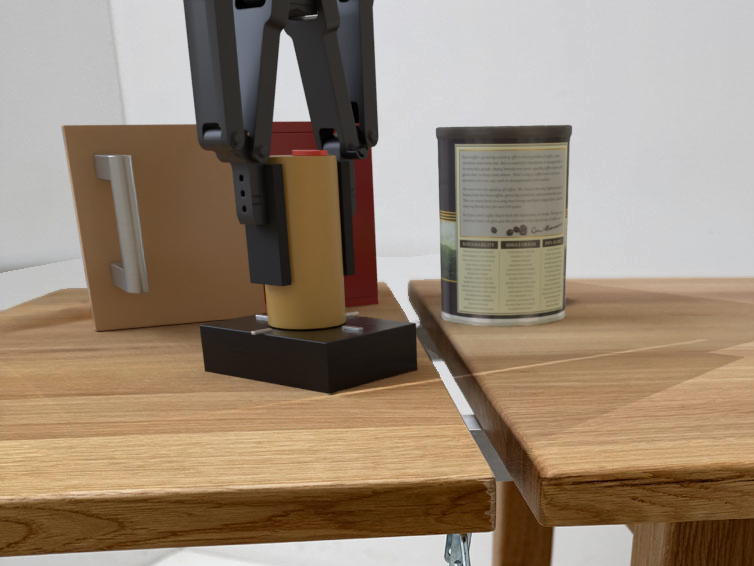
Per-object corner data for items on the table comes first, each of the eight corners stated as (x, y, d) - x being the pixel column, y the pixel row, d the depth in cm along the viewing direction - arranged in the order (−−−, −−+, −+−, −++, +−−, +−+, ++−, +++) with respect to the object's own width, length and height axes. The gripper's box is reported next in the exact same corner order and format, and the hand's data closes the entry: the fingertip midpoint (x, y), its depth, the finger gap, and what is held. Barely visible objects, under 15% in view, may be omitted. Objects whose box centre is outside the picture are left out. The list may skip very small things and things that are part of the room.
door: (292, 327, 79) (276, 122, 73) (112, 344, 73) (78, 124, 67) (262, 314, 85) (245, 123, 79) (93, 329, 79) (60, 125, 73)
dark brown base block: (198, 374, 65) (192, 323, 63) (300, 351, 71) (296, 304, 70) (323, 397, 59) (319, 341, 57) (422, 370, 65) (421, 319, 64)
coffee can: (413, 317, 83) (407, 126, 77) (503, 303, 90) (504, 125, 84) (502, 333, 77) (503, 124, 71) (592, 316, 83) (600, 124, 77)
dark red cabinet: (273, 316, 85) (256, 121, 79) (214, 297, 95) (195, 124, 89) (378, 305, 90) (370, 120, 84) (312, 288, 100) (300, 123, 94)
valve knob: (252, 324, 63) (235, 150, 59) (307, 314, 67) (295, 149, 62) (307, 332, 61) (294, 150, 56) (361, 321, 64) (353, 149, 60)
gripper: (335, -150, 61) (356, 260, 71) (74, -222, 48) (145, 291, 58) (434, -172, 57) (442, 267, 67) (177, -257, 44) (234, 302, 54)
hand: (304, 277), depth 62 cm, fingers closed on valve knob, 5 cm apart
